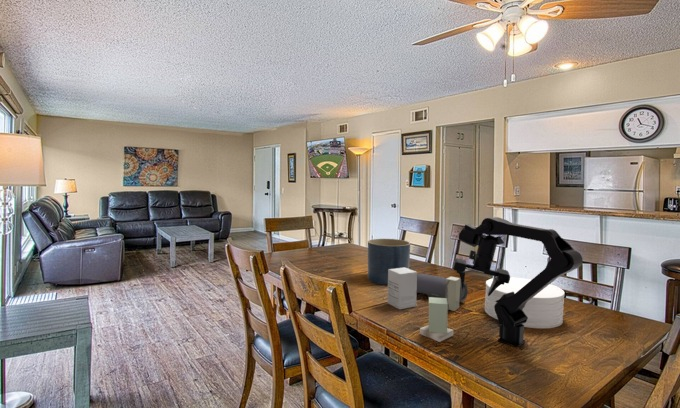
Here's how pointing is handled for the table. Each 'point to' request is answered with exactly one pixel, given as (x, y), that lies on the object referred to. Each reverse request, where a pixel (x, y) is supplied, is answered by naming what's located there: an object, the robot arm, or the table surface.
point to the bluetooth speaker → (437, 286)
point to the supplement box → (402, 288)
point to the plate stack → (531, 303)
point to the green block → (438, 315)
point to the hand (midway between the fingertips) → (475, 292)
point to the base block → (436, 334)
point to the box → (452, 293)
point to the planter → (386, 258)
